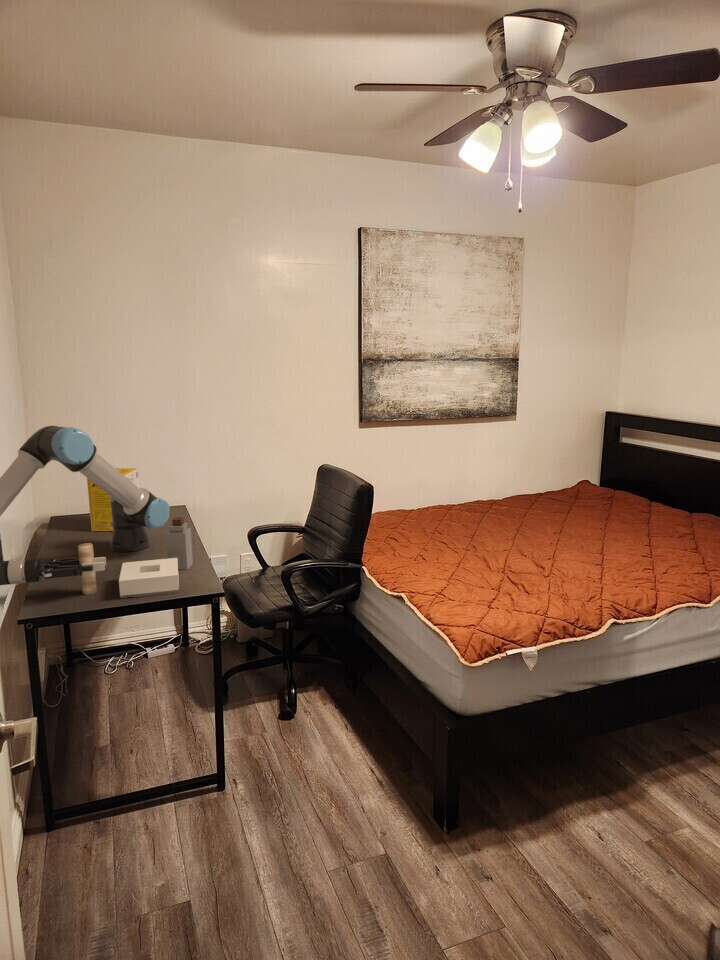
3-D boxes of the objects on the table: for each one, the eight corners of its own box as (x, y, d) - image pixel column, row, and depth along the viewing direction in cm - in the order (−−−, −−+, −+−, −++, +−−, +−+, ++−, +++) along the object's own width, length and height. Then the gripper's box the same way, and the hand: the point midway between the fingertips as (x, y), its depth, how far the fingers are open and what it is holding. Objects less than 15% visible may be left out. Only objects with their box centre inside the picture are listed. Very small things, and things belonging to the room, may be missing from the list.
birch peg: (83, 590, 209) (78, 543, 206) (97, 588, 210) (93, 542, 207) (81, 595, 205) (76, 547, 202) (96, 593, 206) (91, 546, 203)
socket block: (124, 579, 219) (122, 562, 218) (178, 573, 224) (177, 557, 222) (120, 598, 202) (118, 580, 201) (179, 592, 207) (178, 575, 206)
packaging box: (107, 521, 291) (103, 468, 286) (142, 522, 290) (138, 468, 285) (91, 532, 275) (86, 475, 270) (128, 532, 274) (124, 475, 269)
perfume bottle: (174, 563, 235) (171, 516, 231) (192, 563, 235) (190, 516, 231) (168, 569, 228) (165, 521, 225) (187, 569, 228) (184, 521, 224)
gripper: (32, 573, 210) (108, 565, 216) (21, 592, 193) (103, 583, 200) (30, 551, 208) (106, 544, 215) (18, 568, 192) (101, 561, 198)
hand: (104, 563), depth 207 cm, fingers closed on birch peg, 4 cm apart
